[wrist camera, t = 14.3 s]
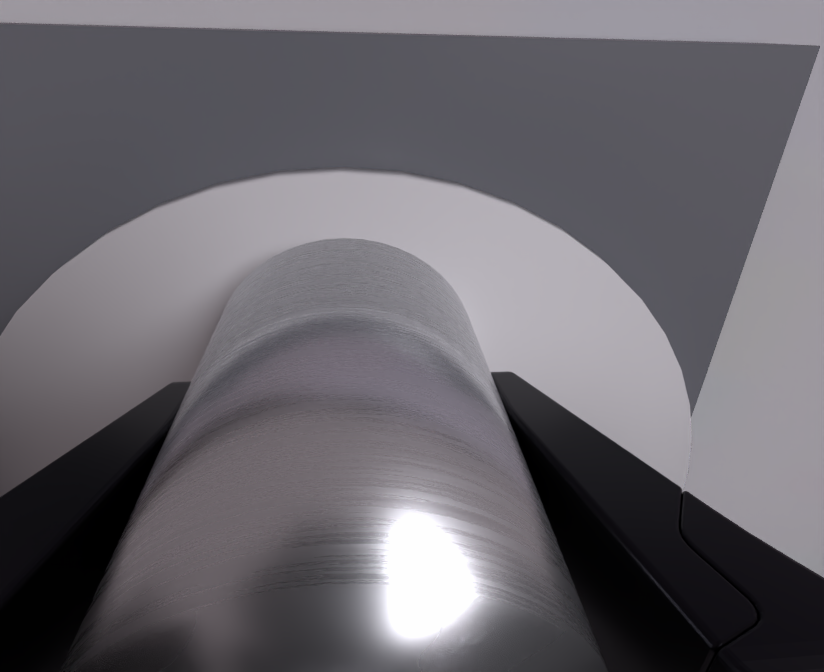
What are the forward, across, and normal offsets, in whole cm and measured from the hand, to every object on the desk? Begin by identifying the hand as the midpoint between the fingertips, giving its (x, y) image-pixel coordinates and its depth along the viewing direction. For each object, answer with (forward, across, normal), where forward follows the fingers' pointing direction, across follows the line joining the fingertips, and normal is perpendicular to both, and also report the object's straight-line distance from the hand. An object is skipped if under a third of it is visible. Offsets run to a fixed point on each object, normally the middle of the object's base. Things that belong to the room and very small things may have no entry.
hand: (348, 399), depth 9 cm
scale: (+4, +2, +5) cm, 7 cm away
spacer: (+1, 0, 0) cm, 1 cm away
